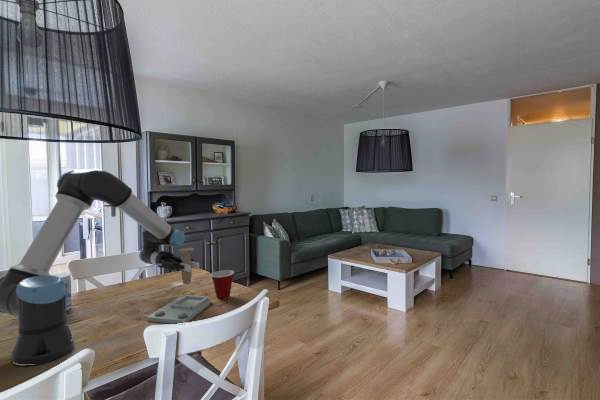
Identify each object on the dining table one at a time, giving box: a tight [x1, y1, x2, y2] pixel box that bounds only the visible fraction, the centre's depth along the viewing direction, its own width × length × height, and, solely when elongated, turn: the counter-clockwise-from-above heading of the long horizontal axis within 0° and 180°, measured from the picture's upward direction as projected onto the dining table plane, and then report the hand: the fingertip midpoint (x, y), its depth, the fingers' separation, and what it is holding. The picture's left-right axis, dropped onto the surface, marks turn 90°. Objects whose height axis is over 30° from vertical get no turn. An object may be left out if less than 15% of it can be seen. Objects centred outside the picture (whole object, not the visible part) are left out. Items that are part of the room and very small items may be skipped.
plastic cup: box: [210, 269, 235, 300], centre depth 147 cm, size 11×11×12 cm
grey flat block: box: [146, 294, 213, 324], centre depth 132 cm, size 22×16×3 cm
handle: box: [177, 247, 195, 285], centre depth 136 cm, size 5×6×15 cm
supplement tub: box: [50, 272, 72, 312], centre depth 132 cm, size 10×10×15 cm
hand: (194, 267), depth 132 cm, fingers closed on handle, 3 cm apart
